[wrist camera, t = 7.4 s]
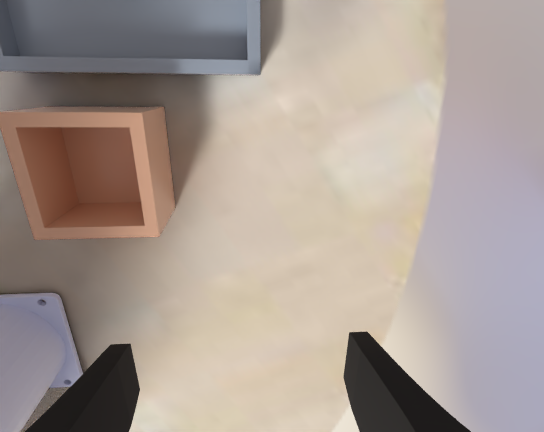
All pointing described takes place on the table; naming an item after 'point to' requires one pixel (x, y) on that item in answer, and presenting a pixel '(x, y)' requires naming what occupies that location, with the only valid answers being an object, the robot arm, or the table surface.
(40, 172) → the hollow square block
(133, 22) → the tray
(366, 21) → the table surface
